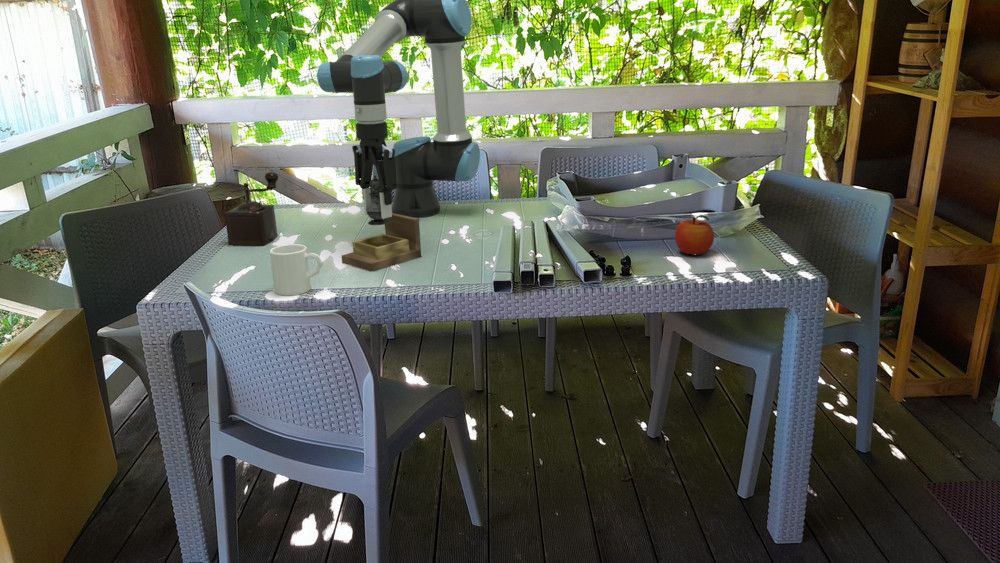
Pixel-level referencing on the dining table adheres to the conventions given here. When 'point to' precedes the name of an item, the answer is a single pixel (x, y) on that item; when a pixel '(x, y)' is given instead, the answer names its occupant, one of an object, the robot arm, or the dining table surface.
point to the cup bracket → (387, 245)
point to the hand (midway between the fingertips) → (378, 215)
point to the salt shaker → (375, 204)
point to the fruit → (694, 236)
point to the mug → (292, 269)
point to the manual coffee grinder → (252, 219)
